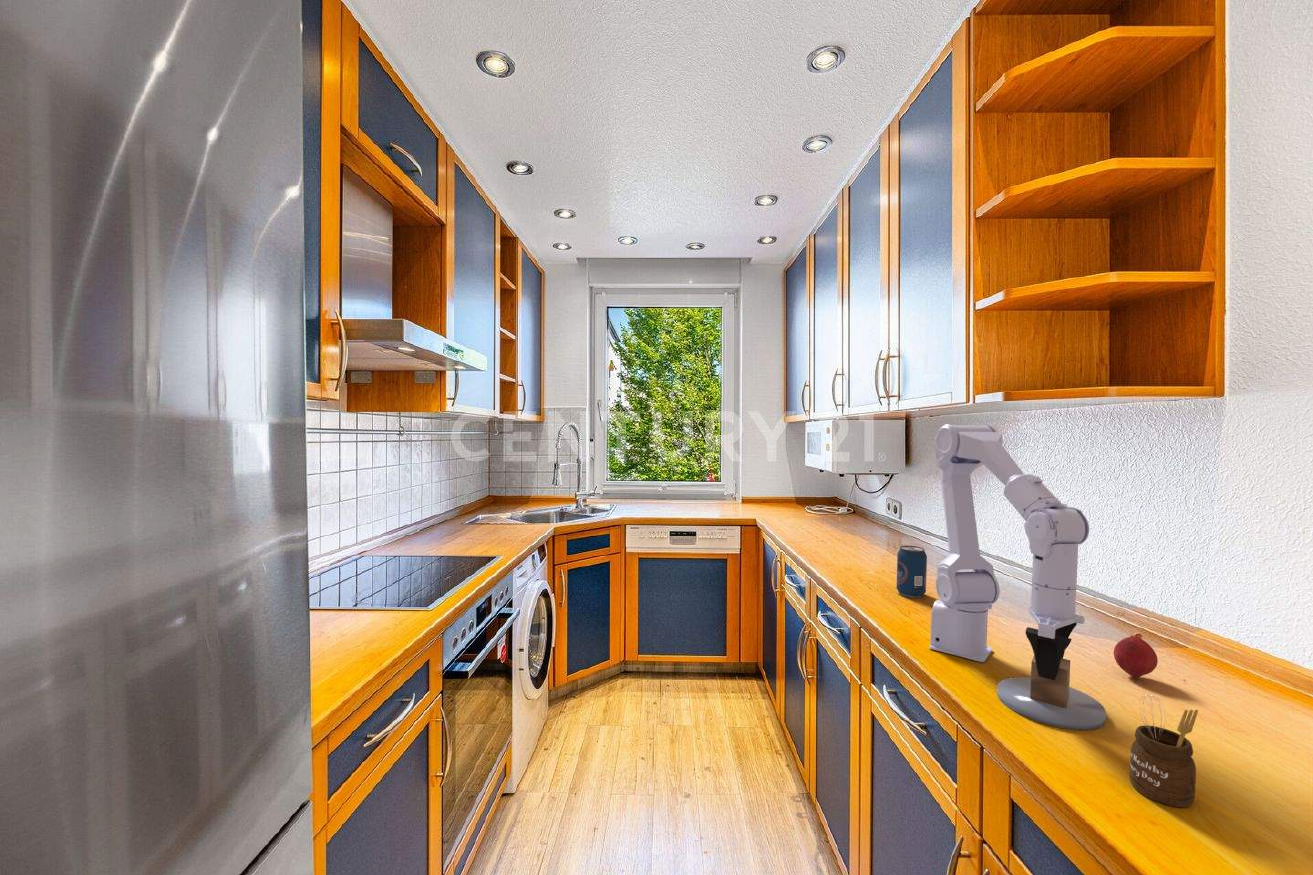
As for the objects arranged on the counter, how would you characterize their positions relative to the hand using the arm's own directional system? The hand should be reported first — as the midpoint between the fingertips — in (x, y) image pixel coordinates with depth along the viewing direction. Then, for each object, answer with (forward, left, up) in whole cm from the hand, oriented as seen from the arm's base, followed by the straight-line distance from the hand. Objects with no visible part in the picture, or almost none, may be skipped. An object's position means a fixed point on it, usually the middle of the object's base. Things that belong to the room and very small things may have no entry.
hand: (1050, 669), depth 88 cm
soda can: (-34, +44, -6) cm, 56 cm away
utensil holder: (+13, -16, -6) cm, 22 cm away
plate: (0, 0, -6) cm, 6 cm away
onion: (+10, +22, -6) cm, 25 cm away
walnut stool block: (0, 0, -5) cm, 5 cm away
